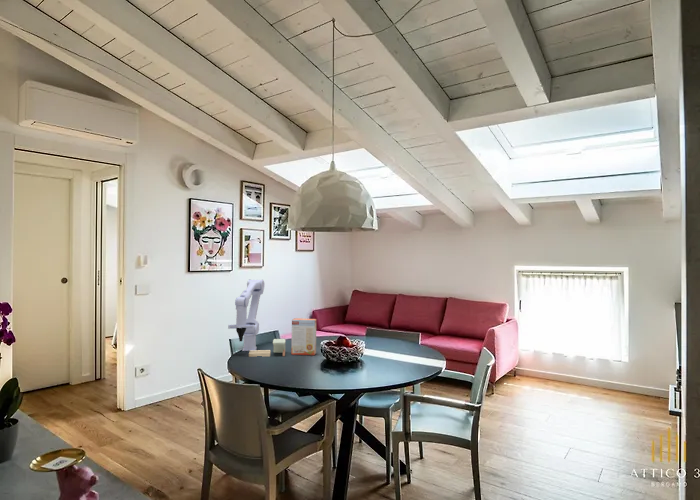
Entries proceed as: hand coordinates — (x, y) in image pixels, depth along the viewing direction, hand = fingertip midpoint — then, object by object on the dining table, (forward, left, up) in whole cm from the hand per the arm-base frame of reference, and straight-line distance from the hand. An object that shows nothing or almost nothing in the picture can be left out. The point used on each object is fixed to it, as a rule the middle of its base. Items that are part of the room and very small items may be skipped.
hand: (240, 341), depth 253 cm
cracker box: (-2, +37, -8) cm, 37 cm away
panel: (0, +11, -9) cm, 14 cm away
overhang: (-1, +22, -8) cm, 23 cm away
